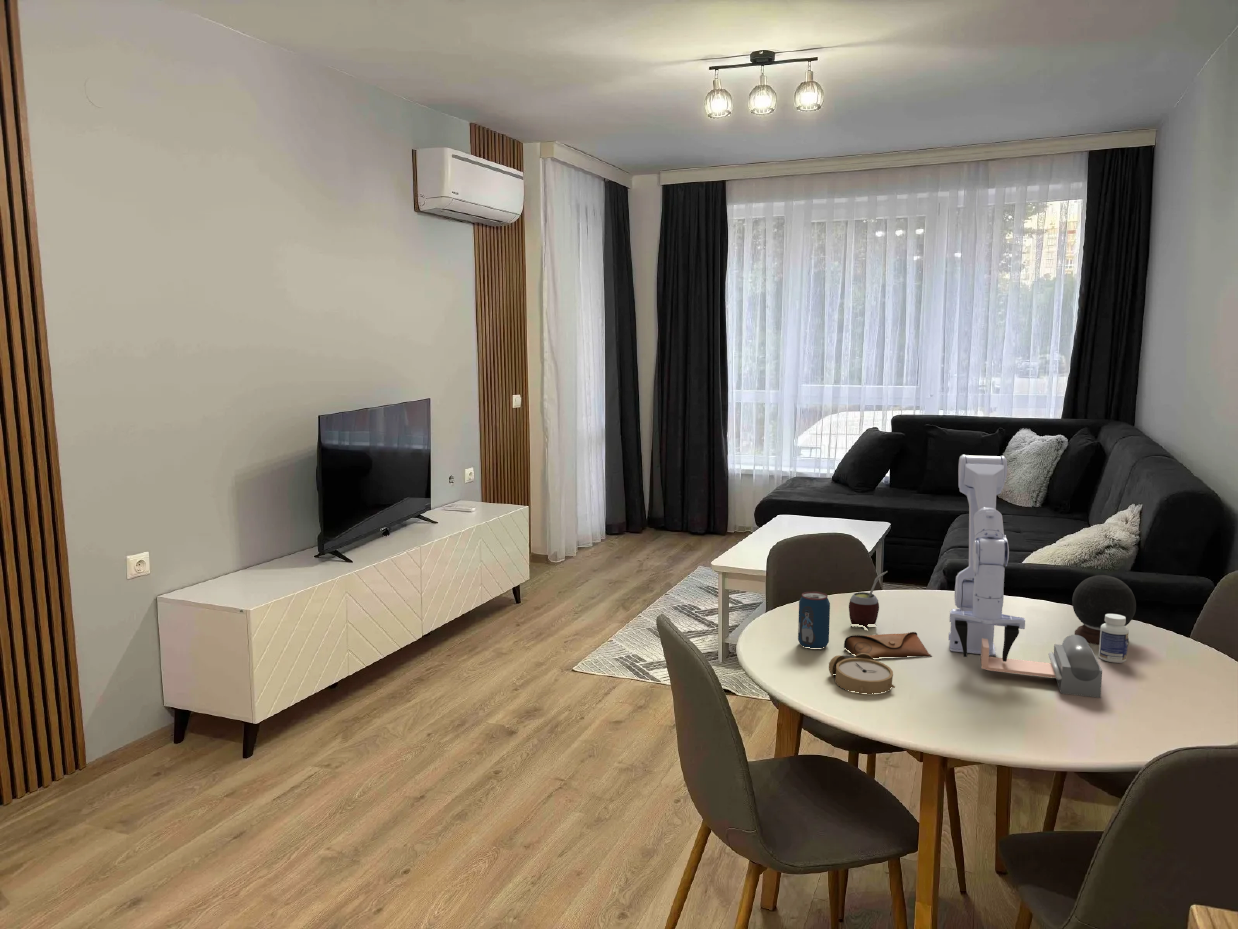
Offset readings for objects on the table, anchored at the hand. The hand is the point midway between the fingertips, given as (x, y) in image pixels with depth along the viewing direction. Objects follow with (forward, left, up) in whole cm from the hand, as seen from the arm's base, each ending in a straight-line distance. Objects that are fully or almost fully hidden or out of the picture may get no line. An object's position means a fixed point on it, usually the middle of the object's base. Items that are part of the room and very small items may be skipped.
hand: (984, 657), depth 188 cm
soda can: (-36, +5, -3) cm, 37 cm away
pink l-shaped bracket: (+6, 0, -1) cm, 7 cm away
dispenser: (+17, 0, -3) cm, 18 cm away
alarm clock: (-24, -14, -4) cm, 28 cm away
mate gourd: (-26, +23, -3) cm, 35 cm away
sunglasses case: (-20, +6, -4) cm, 21 cm away
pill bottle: (+27, +18, -3) cm, 33 cm away
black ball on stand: (+27, +33, -3) cm, 43 cm away
